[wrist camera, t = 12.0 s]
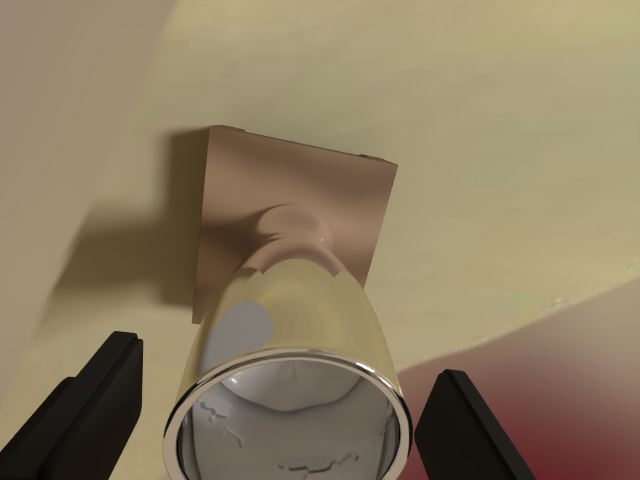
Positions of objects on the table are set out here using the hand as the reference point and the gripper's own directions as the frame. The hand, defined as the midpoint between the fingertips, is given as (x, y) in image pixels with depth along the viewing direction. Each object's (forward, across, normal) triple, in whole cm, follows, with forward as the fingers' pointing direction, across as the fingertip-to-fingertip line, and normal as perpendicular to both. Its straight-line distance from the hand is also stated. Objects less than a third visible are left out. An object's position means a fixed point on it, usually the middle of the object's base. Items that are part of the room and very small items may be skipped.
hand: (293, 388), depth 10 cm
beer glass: (+13, 0, +1) cm, 13 cm away
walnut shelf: (+17, 0, +1) cm, 17 cm away
